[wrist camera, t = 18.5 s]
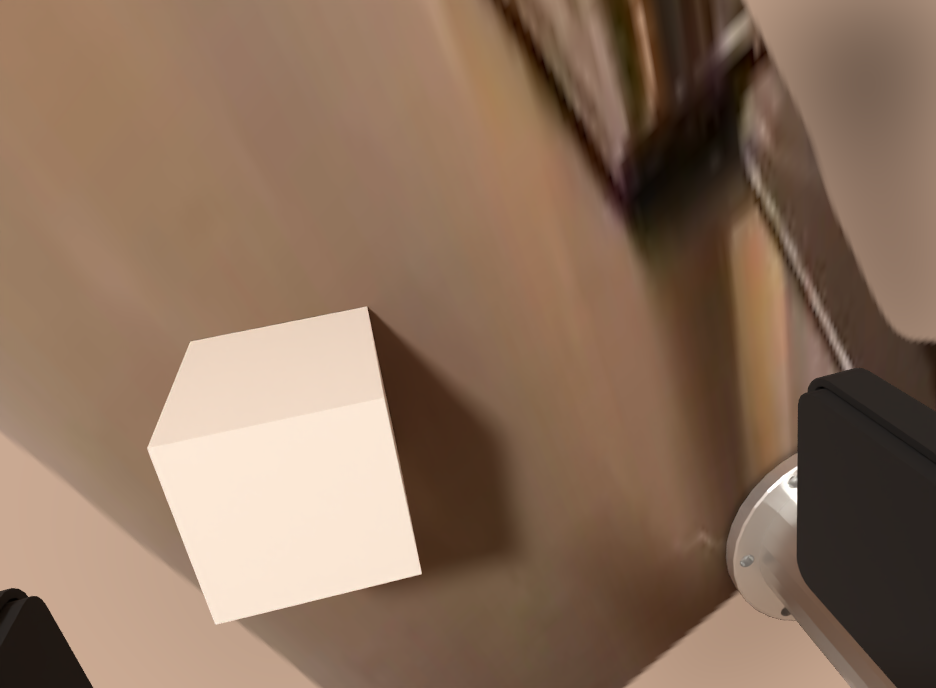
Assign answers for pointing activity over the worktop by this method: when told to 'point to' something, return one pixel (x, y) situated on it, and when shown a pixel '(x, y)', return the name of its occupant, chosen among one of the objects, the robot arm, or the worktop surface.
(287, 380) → the cream matte cube
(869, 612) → the robot arm
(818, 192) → the worktop surface
